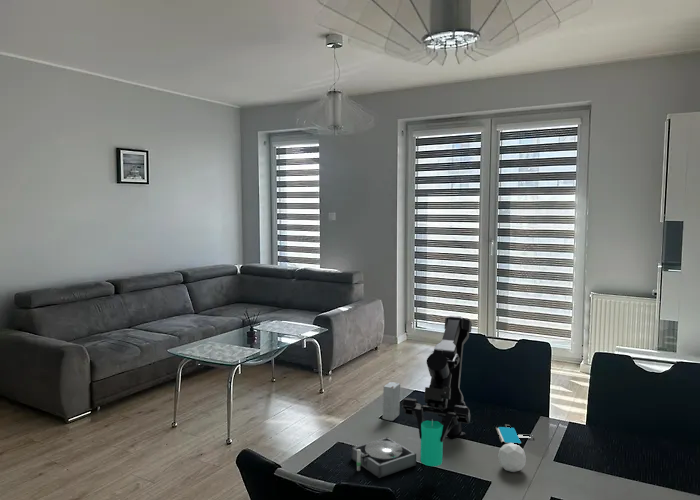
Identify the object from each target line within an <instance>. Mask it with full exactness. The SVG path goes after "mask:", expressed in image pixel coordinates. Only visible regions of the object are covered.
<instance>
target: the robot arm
mask: <svg viewBox="0 0 700 500" xmlns="http://www.w3.org/2000/svg"><path fill="white" fill-rule="evenodd" d="M470 333H472V321H471V320H470V319H469V318H465V317H463V316H459V315H448V316H447V317H445V319H444V332H443V336H442V340H441V341H440V342H439V343H436V344H435V346H434V349H433V350H432V351H431V352H430V354H429V356H427V358H426V366H427V369H428V373H429V376H430V377H431V378H430V383H429V386H427V387H424V396H423V399H424V403H425V404H421V403H419V402H418V400H417V399H416V398H409V397H404V399H402V401H401V404H400V405H401V408H402V410H403V414H405V415H408V416H413V418H414V419H415V420H417V427H418V436H419V439H420V440H421V436H422V434H421V423H422V422H423V421H425V419H426V418H425V416H424V413H429V414H436V415H438V417H441V421H440V423H441V424H442V425H443V430H442V436H441V439H440V441H441V442H443V443H444V440H445V439H446V438H449V439H450V440H453V439H456V438H460V437H463V436H465V435H466V432H463V431H462V429H463V427H462V425H463V424H466V425H467V424H471V411H470V408H469V407H468V406H467V405H466V402H465V401H464V395H463V392H462V391H461V389H460V388H461V387H460V385H461V375H462V365H463V364H462V362H463V351H464V346H465V345H464V344H465V343H466V342H467V341H468V340H469V338H470Z"/></svg>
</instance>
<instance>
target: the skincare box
mask: <svg viewBox="0 0 700 500" xmlns="http://www.w3.org/2000/svg"><path fill="white" fill-rule="evenodd" d="M382 392H383V395H382V397H383V398H382V419H383V420H386V421H392V422H394V420H396V419H397V418H398V417H399V416H400V405H401V404H400V402H401V401H400V400H401V383H400V382H393V381H389V382H388V383H386V384H385V385H384V386H383V391H382Z"/></svg>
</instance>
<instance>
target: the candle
mask: <svg viewBox="0 0 700 500" xmlns="http://www.w3.org/2000/svg"><path fill="white" fill-rule="evenodd" d="M442 430H443V425H442V424H441V421H440V422H439V420H433V418H432V419H431V420H428V419H426V420H424V421H423V422H422V423H421V434H422V436H421V439H420V457H419V458H420V462H421V464H422V465H425V466H428V467H438V466H441V465H442V464H443V456H444V455H443V453H444V452H443V451H444V449H443V447H444V441H443V442H441V441H440V439H441V436H442Z"/></svg>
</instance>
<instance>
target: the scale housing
mask: <svg viewBox="0 0 700 500" xmlns="http://www.w3.org/2000/svg"><path fill="white" fill-rule="evenodd" d="M380 440H384V441H391V442H395V443H397V444H399V445H400V446H401V447H402V455H401V456H400V457H399V458H397V459H394V460H389V461H381V460H376V459H372V458H370V457H366V458H363V459H362V458H361V456H362V455H365V454H366V453H365V446H366V445H367V444H368V443H370V442H373V441H380ZM370 442H365V443H362V444H359V445H355V446H352V447H351V460H353V462H355V463H356V472H360V471H361V467H362V468H364V469H365V470H366V471H369V472H370V473H371V474H372V475H374V476H376V477H377V478H379V479H380V478H384V477H387V476H389V475H392V474H395V473H397V472H401V471H404V470H406V469H409V468H412V467H416V466H417V453H416V452H414V451H412V450H411V449H409V448H407V447H406V446H404V445H402V444H400V443H399V442H398V441H395V440H393V439H392V438H390V437H388V436H385V437H382V438H380V439H376V440H372V441H370Z"/></svg>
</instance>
